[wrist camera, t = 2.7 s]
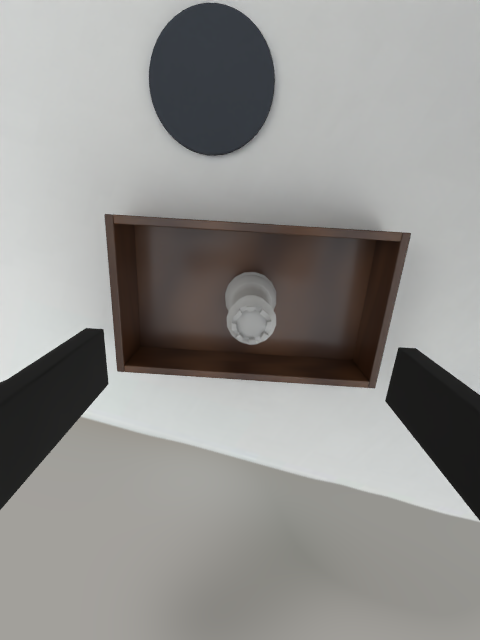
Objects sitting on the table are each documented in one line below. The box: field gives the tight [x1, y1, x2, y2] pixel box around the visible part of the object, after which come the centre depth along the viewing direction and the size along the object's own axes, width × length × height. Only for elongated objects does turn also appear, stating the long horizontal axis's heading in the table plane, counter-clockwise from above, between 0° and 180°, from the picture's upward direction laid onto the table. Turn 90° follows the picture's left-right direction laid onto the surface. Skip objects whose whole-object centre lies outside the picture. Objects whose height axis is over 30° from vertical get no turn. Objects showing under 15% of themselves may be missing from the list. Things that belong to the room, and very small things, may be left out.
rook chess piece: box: [225, 272, 276, 345], centre depth 22 cm, size 4×4×8 cm
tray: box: [105, 214, 411, 388], centre depth 24 cm, size 21×12×4 cm, turn 87°
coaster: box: [149, 3, 275, 155], centre depth 21 cm, size 9×9×1 cm
